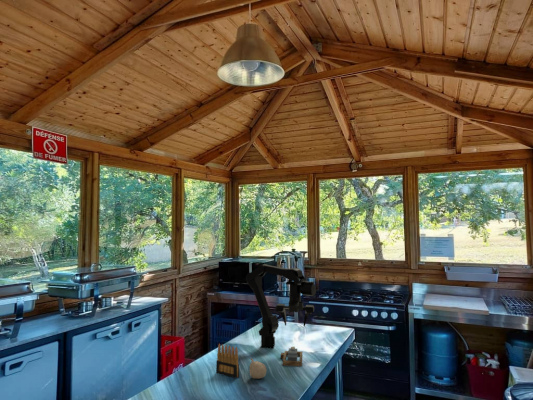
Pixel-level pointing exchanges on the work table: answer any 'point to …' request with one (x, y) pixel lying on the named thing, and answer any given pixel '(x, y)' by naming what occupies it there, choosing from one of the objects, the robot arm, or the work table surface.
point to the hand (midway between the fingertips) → (294, 326)
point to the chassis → (291, 363)
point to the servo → (292, 354)
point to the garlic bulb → (257, 369)
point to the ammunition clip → (227, 362)
